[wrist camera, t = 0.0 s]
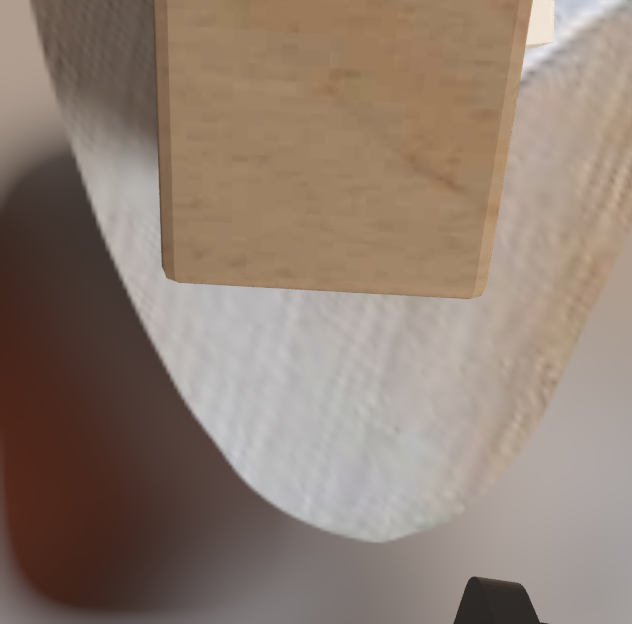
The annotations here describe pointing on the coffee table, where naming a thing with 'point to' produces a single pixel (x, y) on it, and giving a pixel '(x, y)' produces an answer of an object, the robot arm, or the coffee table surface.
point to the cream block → (540, 24)
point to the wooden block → (335, 141)
